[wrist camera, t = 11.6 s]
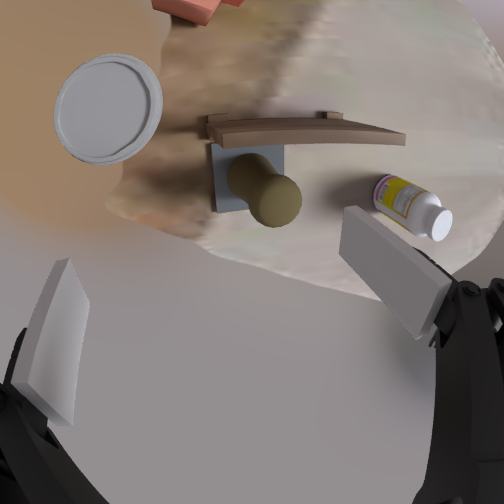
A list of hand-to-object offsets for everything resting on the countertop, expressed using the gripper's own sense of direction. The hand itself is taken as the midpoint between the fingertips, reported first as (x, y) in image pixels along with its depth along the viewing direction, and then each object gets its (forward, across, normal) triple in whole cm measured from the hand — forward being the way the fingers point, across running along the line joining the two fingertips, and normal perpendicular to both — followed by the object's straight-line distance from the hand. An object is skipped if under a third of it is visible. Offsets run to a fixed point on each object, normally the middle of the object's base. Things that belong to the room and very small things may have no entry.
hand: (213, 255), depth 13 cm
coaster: (+23, +8, -4) cm, 25 cm away
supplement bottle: (+23, +31, -9) cm, 39 cm away
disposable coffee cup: (+24, -6, +7) cm, 26 cm away
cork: (+23, +8, -4) cm, 24 cm away
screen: (+23, +12, +2) cm, 26 cm away
